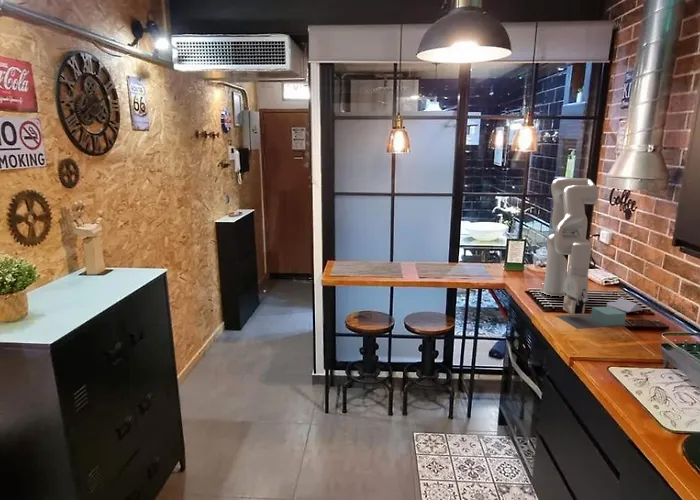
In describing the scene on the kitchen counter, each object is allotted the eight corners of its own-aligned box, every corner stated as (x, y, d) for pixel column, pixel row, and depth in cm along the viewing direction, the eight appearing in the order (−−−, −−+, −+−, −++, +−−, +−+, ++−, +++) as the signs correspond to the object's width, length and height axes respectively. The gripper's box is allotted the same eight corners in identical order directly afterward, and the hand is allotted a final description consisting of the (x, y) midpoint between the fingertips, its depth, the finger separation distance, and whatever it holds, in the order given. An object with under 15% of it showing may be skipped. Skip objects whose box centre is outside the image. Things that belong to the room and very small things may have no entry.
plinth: (590, 318, 199) (592, 307, 198) (609, 317, 201) (610, 306, 199) (605, 326, 190) (606, 314, 189) (624, 324, 192) (626, 313, 191)
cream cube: (562, 309, 202) (564, 296, 200) (575, 308, 203) (576, 295, 201) (571, 314, 196) (572, 301, 195) (583, 313, 197) (585, 300, 196)
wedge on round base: (641, 316, 205) (615, 307, 216) (643, 302, 203) (617, 293, 215) (627, 319, 201) (601, 309, 213) (629, 304, 200) (603, 296, 212)
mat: (555, 317, 202) (555, 315, 202) (604, 315, 206) (604, 313, 206) (577, 331, 188) (577, 328, 187) (629, 327, 191) (629, 325, 191)
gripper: (558, 265, 203) (553, 304, 207) (583, 277, 186) (578, 318, 190) (573, 265, 204) (568, 303, 208) (600, 276, 187) (594, 317, 192)
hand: (573, 310), depth 199 cm, fingers closed on cream cube, 6 cm apart
